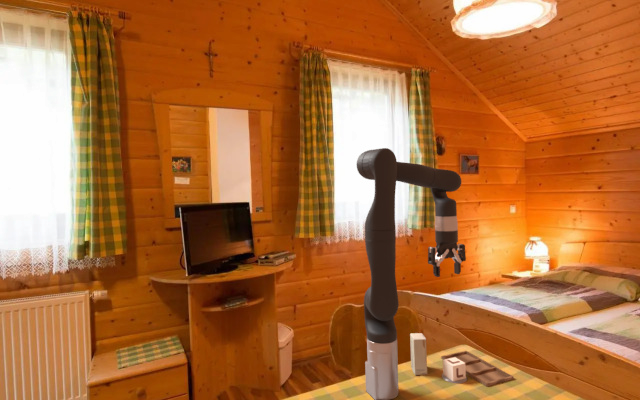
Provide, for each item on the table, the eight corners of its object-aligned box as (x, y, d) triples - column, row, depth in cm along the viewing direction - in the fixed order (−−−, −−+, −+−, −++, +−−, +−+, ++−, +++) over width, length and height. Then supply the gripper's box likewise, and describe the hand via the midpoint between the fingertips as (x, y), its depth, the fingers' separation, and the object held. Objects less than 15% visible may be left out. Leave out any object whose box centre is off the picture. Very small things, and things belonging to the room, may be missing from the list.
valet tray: (486, 387, 123) (486, 383, 123) (441, 359, 144) (441, 356, 144) (513, 380, 127) (513, 376, 127) (465, 353, 148) (465, 350, 148)
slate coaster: (452, 386, 125) (452, 384, 125) (436, 375, 132) (436, 373, 132) (472, 381, 128) (472, 379, 127) (455, 370, 135) (455, 368, 135)
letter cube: (453, 381, 126) (453, 366, 126) (443, 374, 131) (442, 359, 131) (466, 378, 128) (465, 363, 128) (455, 371, 133) (455, 356, 133)
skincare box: (427, 375, 132) (426, 339, 132) (414, 375, 132) (413, 340, 132) (423, 366, 139) (422, 332, 138) (410, 366, 139) (409, 332, 138)
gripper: (436, 231, 131) (437, 279, 132) (470, 228, 136) (471, 275, 137) (422, 229, 138) (423, 275, 139) (455, 226, 143) (456, 270, 144)
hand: (447, 275), depth 138 cm, fingers open, 8 cm apart
